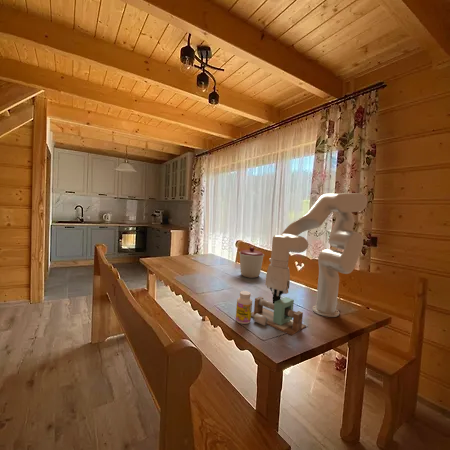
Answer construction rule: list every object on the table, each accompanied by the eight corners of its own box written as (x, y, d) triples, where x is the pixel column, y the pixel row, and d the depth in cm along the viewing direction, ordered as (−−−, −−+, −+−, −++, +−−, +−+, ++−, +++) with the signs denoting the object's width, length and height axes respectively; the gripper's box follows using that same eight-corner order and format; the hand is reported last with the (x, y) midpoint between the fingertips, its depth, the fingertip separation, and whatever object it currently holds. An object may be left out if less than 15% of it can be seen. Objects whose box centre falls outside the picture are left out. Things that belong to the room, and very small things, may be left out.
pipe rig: (263, 308, 128) (264, 293, 128) (305, 326, 112) (307, 309, 112) (247, 315, 120) (248, 299, 119) (291, 335, 104) (293, 317, 103)
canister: (256, 272, 197) (258, 244, 195) (267, 279, 180) (269, 249, 178) (233, 272, 191) (235, 244, 190) (243, 280, 174) (245, 249, 173)
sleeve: (255, 323, 115) (259, 316, 116) (264, 327, 111) (268, 320, 113) (252, 318, 113) (256, 311, 114) (261, 322, 109) (266, 315, 111)
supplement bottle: (233, 322, 112) (235, 293, 111) (238, 316, 118) (240, 289, 117) (248, 325, 110) (250, 296, 109) (252, 319, 116) (254, 291, 115)
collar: (284, 316, 118) (286, 297, 117) (292, 319, 115) (293, 299, 114) (273, 321, 112) (274, 301, 111) (280, 325, 109) (282, 304, 108)
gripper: (260, 260, 117) (257, 300, 119) (289, 268, 106) (286, 311, 108) (270, 258, 122) (267, 296, 124) (298, 265, 112) (295, 306, 113)
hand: (276, 303), depth 116 cm, fingers closed
